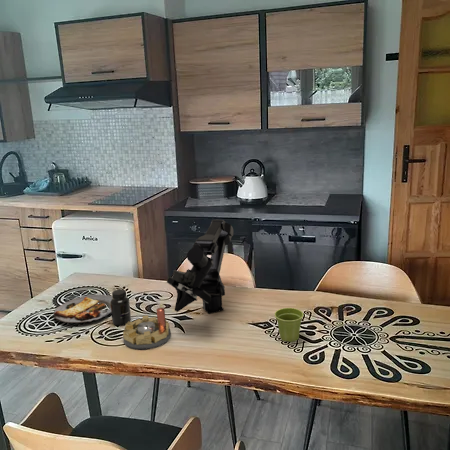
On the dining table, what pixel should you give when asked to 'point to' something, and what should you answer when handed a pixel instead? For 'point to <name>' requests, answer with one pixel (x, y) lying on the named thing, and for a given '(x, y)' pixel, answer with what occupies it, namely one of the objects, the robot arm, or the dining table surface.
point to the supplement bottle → (120, 308)
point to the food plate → (83, 309)
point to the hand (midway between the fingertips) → (175, 311)
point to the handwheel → (147, 338)
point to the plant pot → (289, 323)
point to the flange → (150, 327)
